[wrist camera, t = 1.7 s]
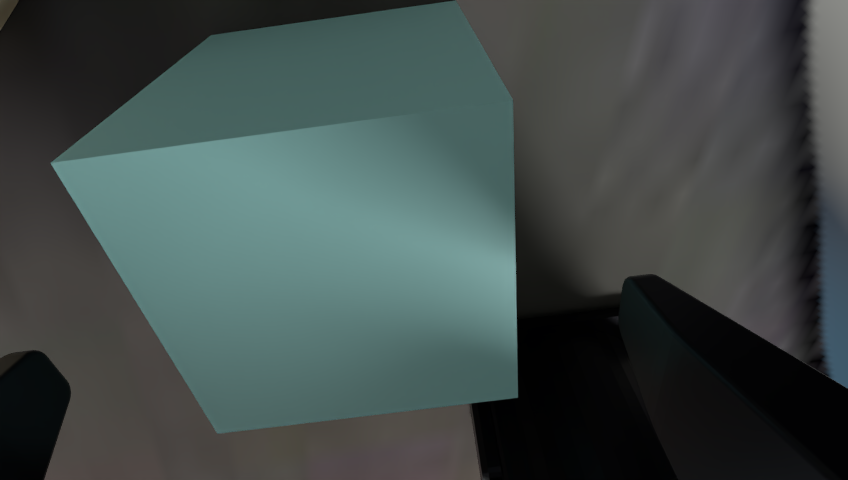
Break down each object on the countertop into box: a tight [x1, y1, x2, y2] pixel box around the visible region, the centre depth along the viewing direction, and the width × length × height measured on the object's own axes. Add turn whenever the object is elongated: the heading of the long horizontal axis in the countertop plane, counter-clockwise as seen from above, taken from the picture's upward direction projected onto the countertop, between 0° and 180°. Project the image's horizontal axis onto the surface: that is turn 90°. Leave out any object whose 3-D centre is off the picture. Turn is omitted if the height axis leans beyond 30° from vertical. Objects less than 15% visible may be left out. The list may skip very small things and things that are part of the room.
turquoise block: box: [51, 0, 518, 434], centre depth 11 cm, size 6×6×7 cm
